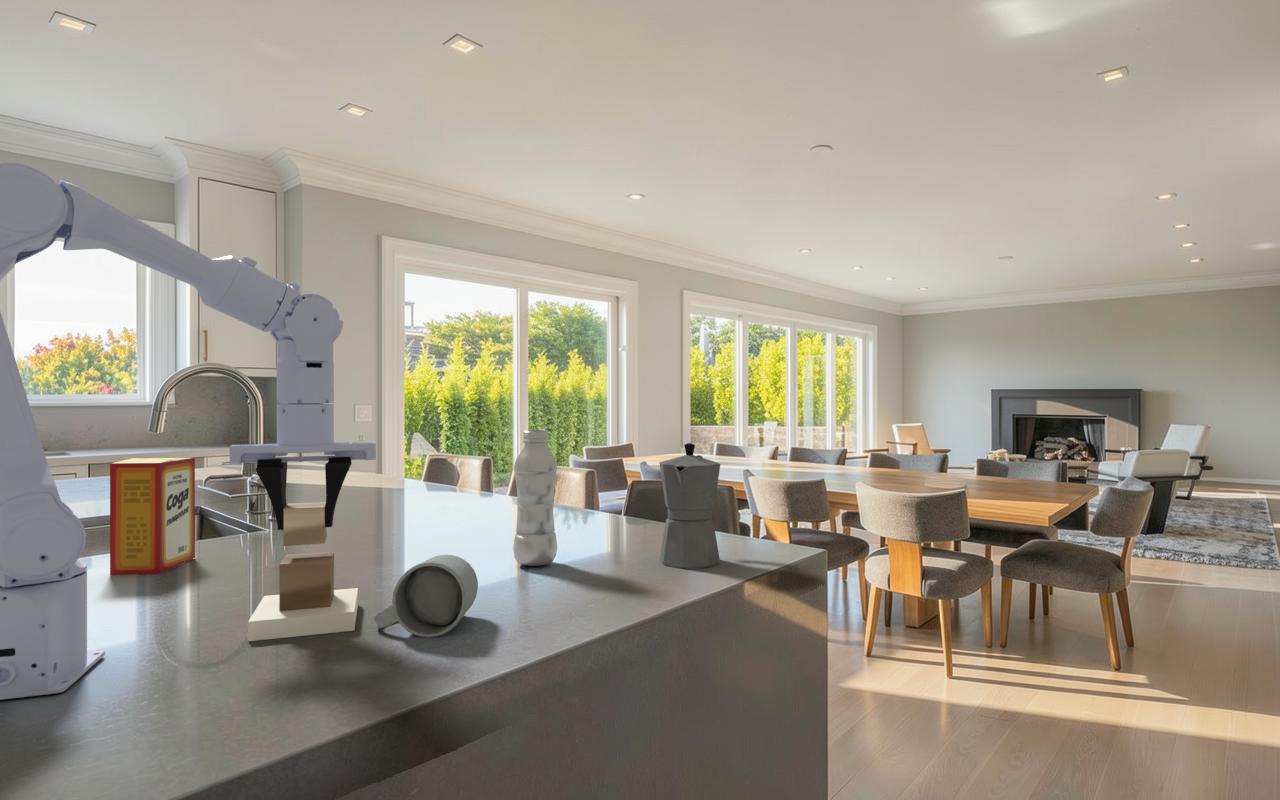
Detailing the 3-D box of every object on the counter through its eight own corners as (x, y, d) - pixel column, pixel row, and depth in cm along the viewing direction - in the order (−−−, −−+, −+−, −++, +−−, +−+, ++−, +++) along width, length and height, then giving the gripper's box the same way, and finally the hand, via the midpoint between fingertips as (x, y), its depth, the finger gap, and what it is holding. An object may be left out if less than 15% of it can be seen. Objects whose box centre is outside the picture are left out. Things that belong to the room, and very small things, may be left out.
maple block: (324, 543, 77) (324, 506, 77) (283, 546, 75) (283, 508, 75) (327, 536, 81) (327, 501, 81) (288, 539, 79) (288, 503, 79)
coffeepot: (712, 574, 99) (712, 446, 99) (647, 570, 102) (647, 445, 102) (729, 551, 114) (729, 440, 114) (672, 548, 116) (672, 439, 116)
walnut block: (330, 606, 77) (330, 560, 77) (279, 611, 75) (279, 564, 75) (334, 594, 81) (334, 551, 81) (286, 598, 80) (286, 554, 80)
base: (354, 630, 75) (354, 611, 75) (248, 641, 71) (248, 621, 71) (358, 604, 84) (358, 587, 84) (264, 613, 81) (264, 595, 81)
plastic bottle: (505, 568, 102) (505, 431, 102) (525, 558, 109) (525, 429, 109) (545, 571, 100) (545, 431, 100) (564, 561, 107) (564, 429, 107)
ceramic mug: (481, 613, 81) (480, 546, 81) (465, 637, 73) (464, 562, 73) (388, 616, 81) (387, 549, 81) (362, 640, 72) (360, 565, 72)
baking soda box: (149, 559, 108) (149, 455, 108) (194, 558, 109) (194, 455, 109) (110, 575, 99) (110, 460, 99) (159, 573, 99) (159, 460, 99)
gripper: (376, 403, 84) (376, 517, 84) (238, 404, 79) (238, 524, 79) (375, 404, 77) (375, 527, 77) (224, 404, 73) (225, 536, 73)
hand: (306, 527), depth 78 cm, fingers closed on maple block, 4 cm apart
